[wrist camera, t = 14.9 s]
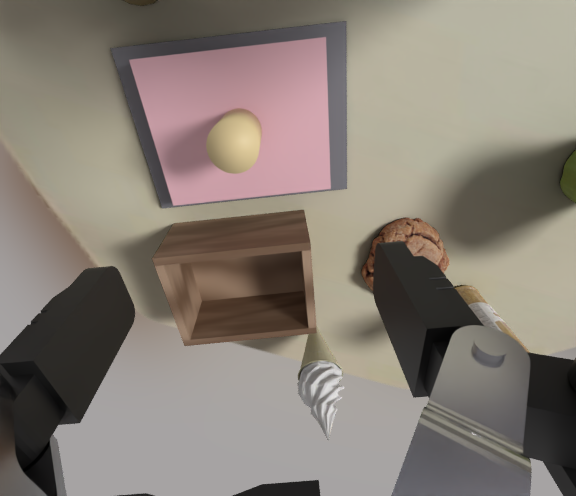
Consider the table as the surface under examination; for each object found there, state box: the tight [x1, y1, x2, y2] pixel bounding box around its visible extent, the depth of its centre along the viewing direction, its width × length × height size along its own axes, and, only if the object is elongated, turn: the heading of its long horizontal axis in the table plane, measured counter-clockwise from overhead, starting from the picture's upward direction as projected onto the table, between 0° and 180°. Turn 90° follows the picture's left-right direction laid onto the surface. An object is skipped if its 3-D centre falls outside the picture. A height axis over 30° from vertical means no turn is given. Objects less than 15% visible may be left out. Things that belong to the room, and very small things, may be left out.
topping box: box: [152, 210, 317, 346], centre depth 34 cm, size 11×14×7 cm
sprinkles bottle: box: [454, 286, 530, 353], centre depth 35 cm, size 5×5×14 cm
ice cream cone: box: [298, 327, 344, 440], centre depth 36 cm, size 5×5×15 cm
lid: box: [129, 37, 331, 206], centre depth 25 cm, size 12×15×8 cm
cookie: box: [361, 218, 449, 290], centre depth 36 cm, size 10×11×3 cm
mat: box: [110, 21, 347, 208], centre depth 29 cm, size 14×19×1 cm
